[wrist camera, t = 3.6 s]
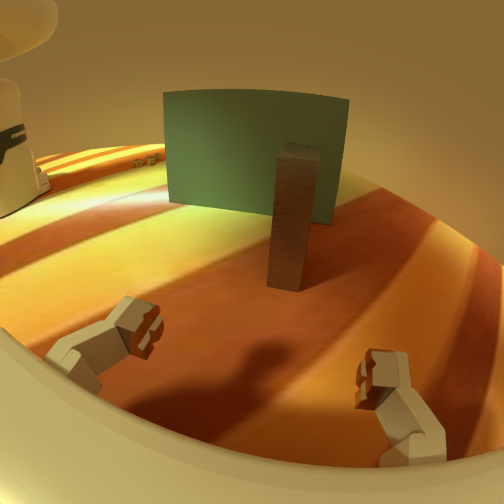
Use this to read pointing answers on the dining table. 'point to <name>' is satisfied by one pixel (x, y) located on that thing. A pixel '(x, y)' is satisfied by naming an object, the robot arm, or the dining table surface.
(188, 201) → the coin box
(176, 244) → the dining table surface
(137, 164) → the dice set
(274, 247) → the brown upright bar
